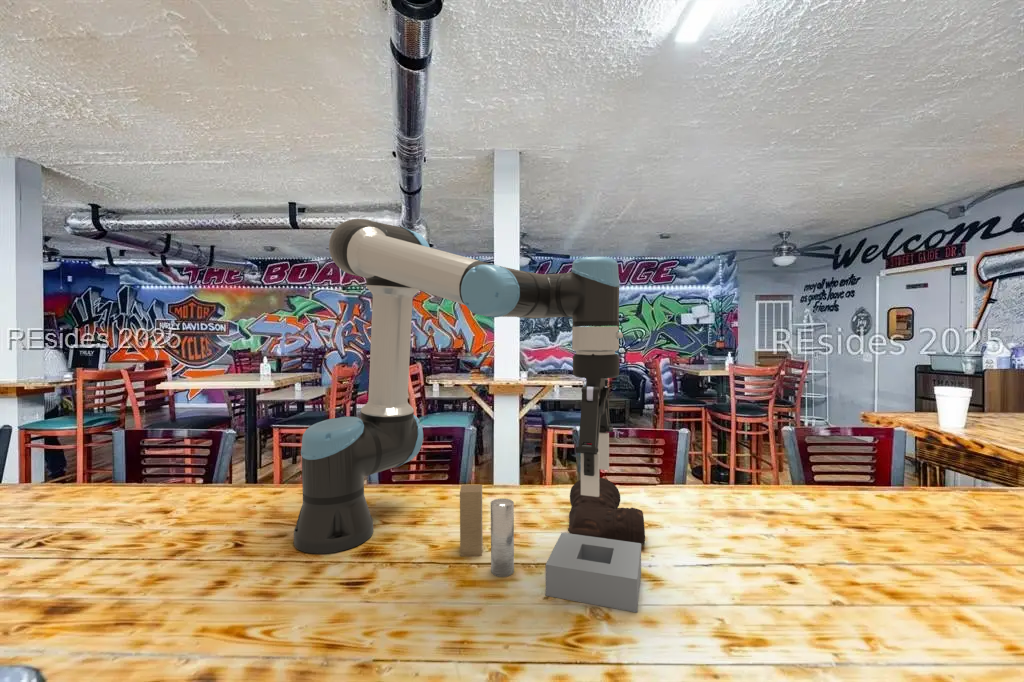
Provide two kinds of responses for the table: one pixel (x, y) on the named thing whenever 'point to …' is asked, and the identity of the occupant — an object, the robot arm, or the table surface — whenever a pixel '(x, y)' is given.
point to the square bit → (471, 520)
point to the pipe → (604, 515)
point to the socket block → (595, 571)
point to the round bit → (502, 537)
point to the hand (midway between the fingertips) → (596, 481)
